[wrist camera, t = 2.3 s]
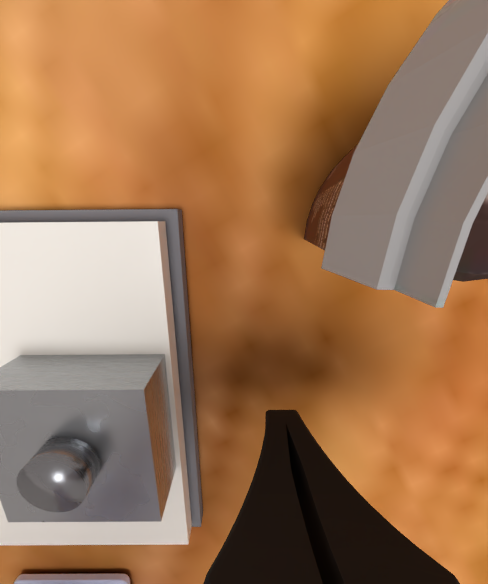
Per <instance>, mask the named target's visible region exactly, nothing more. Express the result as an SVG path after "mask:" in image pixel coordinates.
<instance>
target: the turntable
mask: <svg viewBox="0 0 488 584" xmlns="http://www.w3.org/2000/svg"><path fill="white" fill-rule="evenodd" d="M117 354H165V362H166V371H167V381H168V391H169V401H170V411H171V420H172V430H173V440H174V450H175V460H176V470H175V473H174V477H173V480H172V484H171V488H170V491H169V495H168V499H167V502H166V506H165V510H164V513H163V517H162V520H161V522H8V520H7V518H6V515H5V512H4V509H3V506H2V504H1V501H0V545H166V544H189V538H190V532H191V527H192V521H191V509H190V498H189V486H188V475H187V464H186V452H185V441H184V429H183V418H182V407H181V395H180V384H179V372H178V361H177V350H176V338H175V327H174V315H173V304H172V293H171V281H170V270H169V258H168V247H167V236H166V224H165V221H137V222H20V223H0V367H2V366H3V365H5V364H7V363H8V362H10V361H12V360H13V359H15V358H17V357H18V356H20V355H117Z"/></svg>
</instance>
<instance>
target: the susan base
mask: <svg viewBox="0 0 488 584" xmlns="http://www.w3.org/2000/svg"><path fill="white" fill-rule="evenodd" d="M137 221H165V224H166V236H167V247H168V258H169V270H170V281H171V293H172V304H173V315H174V327H175V338H176V350H177V361H178V372H179V384H180V395H181V407H182V418H183V429H184V441H185V452H186V464H187V475H188V486H189V498H190V509H191V521H192V527H201V523H202V516H203V507H202V493H201V478H200V464H199V450H198V436H197V422H196V407H195V393H194V379H193V365H192V351H191V336H190V322H189V308H188V294H187V279H186V265H185V251H184V237H183V223H182V210H180V209H124V210H9V211H0V223H20V222H137Z"/></svg>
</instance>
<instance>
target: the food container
mask: <svg viewBox="0 0 488 584" xmlns="http://www.w3.org/2000/svg"><path fill="white" fill-rule="evenodd" d="M304 239H305V240H307V241H309V242H310V243H312V244H314V245H316V246H318V247H319V248H321V249H323V250H325V253H324V258H323V263H322V269H325V270H327V271H330V272H333V273H335V274H338V275H340V276H343V277H346V278H348V279H351V280H353V281H356V282H358V283H361V284H364V285H366V286H369V287H371V288H374V289H377V290H396V291H398V292H401V293H403V294H405V295H408V296H410V297H412V298H415V299H417V300H419V301H422V302H424V303H426V304H429V305H431V306H433V307H441V308H443V307H444V304H445V301H446V298H447V295H448V292H449V290H450V287H451V284H452V281H453V280H457V281H471V280H480V279H488V0H449V1H448V2H447V3H446V4H445V5H444V6H443V7H442V9H441V10H440V11H439V12H438V13H437V14H436V16H435V17H434V19H433V20H432V22H431V23H430V24H429V26H428V27H427V29H426V30H425V32H424V33H423V35H422V36H421V38H420V39H419V41H418V42H417V44H416V45H415V47H414V48H413V49H412V51H411V52H410V54H409V55H408V57H407V58H406V60H405V61H404V63H403V64H402V66H401V67H400V69H399V70H398V71H397V73H396V74H395V76H394V77H393V79H392V80H391V82H390V83H389V85H388V87H387V89H386V91H385V93H384V95H383V96H382V98H381V100H380V102H379V104H378V106H377V108H376V110H375V112H374V114H373V116H372V118H371V120H370V122H369V124H368V126H367V128H366V130H365V132H364V134H363V136H362V138H361V140H360V142H359V144H358V145H356V146H355V147H354V148H353V149H352V150H351V151H350V152H349V153H348V154H347V155H346V156H345V157H344V158H343V159H342V160H341V161H340V162H339V163H338V164H337V165H336V167H335V168H334V169H333V170H332V171H331V172H330V174H329V175H328V177H327V178H326V180H325V181H324V183H323V184H322V186H321V187H320V189H319V191H318V193H317V196H316V198H315V200H314V202H313V204H312V207H311V210H310V213H309V216H308V219H307V224H306V230H305V236H304Z"/></svg>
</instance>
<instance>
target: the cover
mask: <svg viewBox="0 0 488 584" xmlns="http://www.w3.org/2000/svg"><path fill="white" fill-rule="evenodd" d="M175 470H176V460H175V450H174V440H173V430H172V420H171V411H170V401H169V391H168V381H167V371H166V362H165V354H117V355H20V356H18V357H17V358H15V359H13V360H12V361H10V362H8V363H7V364H5V365H3V366H2V367H0V501H1V504H2V506H3V509H4V512H5V515H6V518H7V520H8V522H161V520H162V517H163V513H164V510H165V506H166V502H167V499H168V495H169V491H170V488H171V484H172V480H173V477H174V473H175Z"/></svg>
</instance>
